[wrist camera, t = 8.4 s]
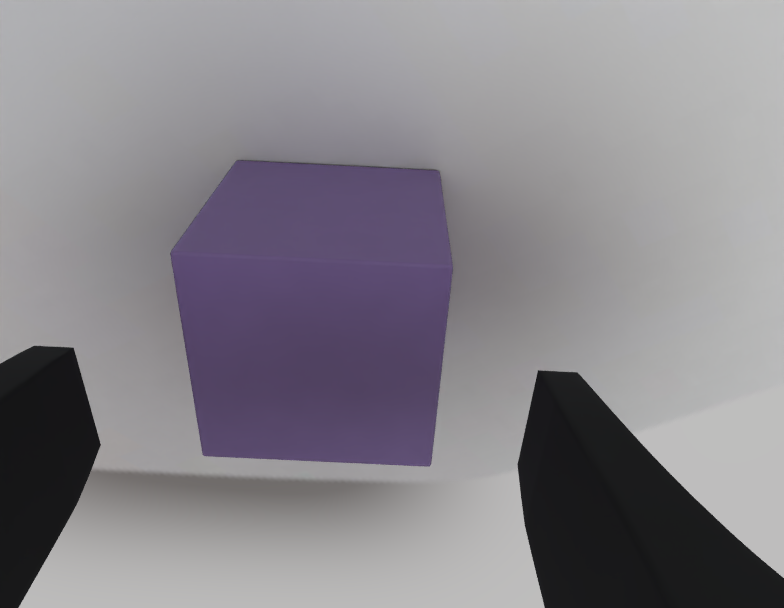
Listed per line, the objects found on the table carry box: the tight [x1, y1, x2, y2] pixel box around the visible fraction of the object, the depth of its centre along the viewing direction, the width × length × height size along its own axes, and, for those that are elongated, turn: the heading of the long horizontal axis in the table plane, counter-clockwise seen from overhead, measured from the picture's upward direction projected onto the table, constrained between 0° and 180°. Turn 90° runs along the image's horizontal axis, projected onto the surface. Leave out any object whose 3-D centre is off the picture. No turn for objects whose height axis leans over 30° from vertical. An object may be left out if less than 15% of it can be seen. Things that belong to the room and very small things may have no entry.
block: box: [170, 161, 453, 466], centre depth 12 cm, size 4×4×4 cm
